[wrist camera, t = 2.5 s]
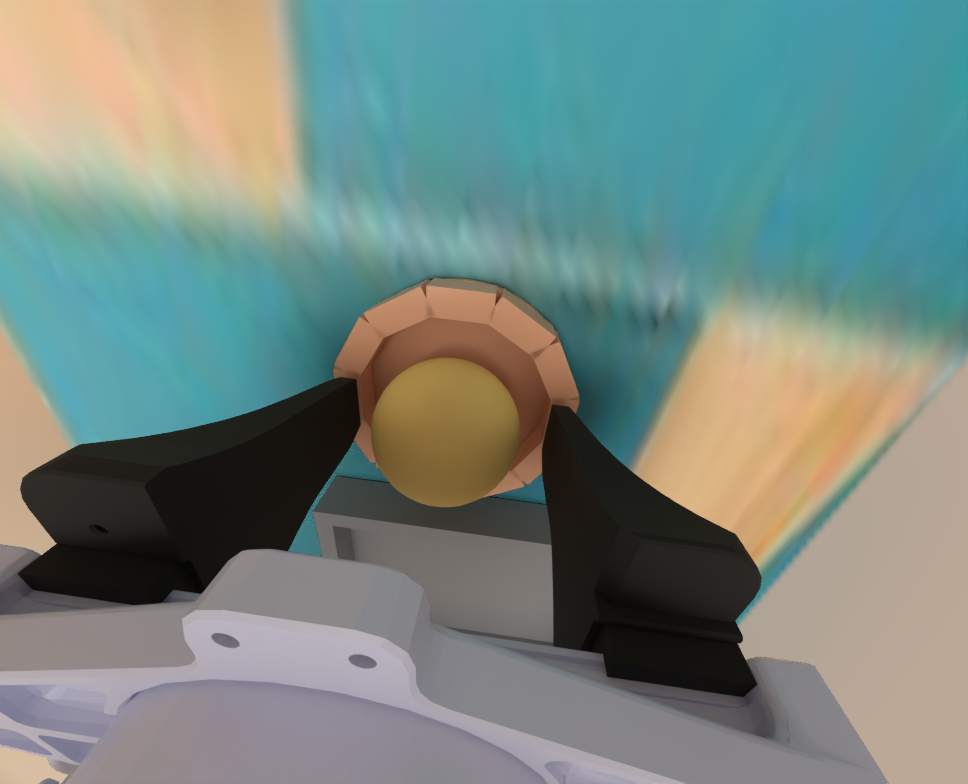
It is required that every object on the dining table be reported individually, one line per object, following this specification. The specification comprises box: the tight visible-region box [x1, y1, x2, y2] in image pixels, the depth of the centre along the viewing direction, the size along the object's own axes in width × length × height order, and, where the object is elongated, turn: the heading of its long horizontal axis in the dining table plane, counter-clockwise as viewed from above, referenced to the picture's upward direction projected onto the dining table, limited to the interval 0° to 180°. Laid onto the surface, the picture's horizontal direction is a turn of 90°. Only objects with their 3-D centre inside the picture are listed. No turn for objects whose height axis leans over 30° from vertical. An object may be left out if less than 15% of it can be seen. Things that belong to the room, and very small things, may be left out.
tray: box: [313, 476, 553, 646], centre depth 19 cm, size 14×12×2 cm
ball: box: [371, 358, 520, 507], centre depth 12 cm, size 5×5×5 cm
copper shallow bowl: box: [333, 278, 580, 498], centre depth 14 cm, size 9×9×2 cm
